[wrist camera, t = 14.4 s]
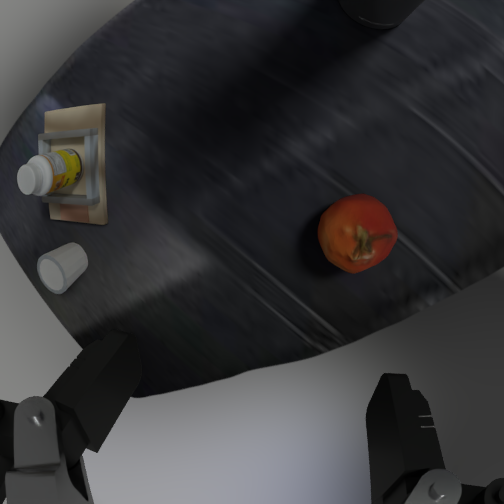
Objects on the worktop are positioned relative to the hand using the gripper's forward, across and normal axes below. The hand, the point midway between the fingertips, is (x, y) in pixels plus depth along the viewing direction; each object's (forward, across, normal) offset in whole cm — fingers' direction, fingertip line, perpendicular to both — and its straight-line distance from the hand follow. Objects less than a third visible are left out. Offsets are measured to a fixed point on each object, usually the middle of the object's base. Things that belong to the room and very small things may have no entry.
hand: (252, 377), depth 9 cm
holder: (+32, +33, -1) cm, 46 cm away
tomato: (+32, -8, +4) cm, 34 cm away
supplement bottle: (+31, +33, -1) cm, 45 cm away
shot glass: (+32, +35, +15) cm, 50 cm away
